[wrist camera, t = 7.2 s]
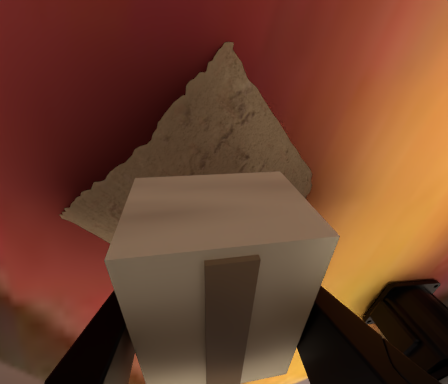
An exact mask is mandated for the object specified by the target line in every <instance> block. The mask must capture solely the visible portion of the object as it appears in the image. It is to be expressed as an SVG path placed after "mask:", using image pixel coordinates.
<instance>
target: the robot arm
mask: <svg viewBox="0 0 448 384" xmlns="http://www.w3.org/2000/svg"><path fill="white" fill-rule="evenodd" d="M439 286H440V283H439V282H438V281H437V280H429V281H415V282H402V283H392V284H389V285H388V286H387V287H386V288H385V290H384V291H383V292H382V294H381V295H380V296H379V298H378V299H377V300H376V302H375V303H374V304H373V306H372V307H371V308H370V310H369V311H368V312H367V314H366V315H365V316H364V318H363V319H360V318H359V317H358V316H357V315H355V314H354V313H353V312H352V311H351V310H349V309H348V308H347V307H346V306H345V305H343V304H342V303H341V302H340V301H339V300H337V299H336V298H335V297H334V296H333V295H331V294H330V293H329V292H328V291H327V290H325V289H324V288H323V287H322V286H320V288H319V291H318V294H317V296H316V299H315V301H314V304H313V306H312V309H311V312H310V314H309V317H308V319H307V322H306V324H305V327H304V329H303V332H302V335H301V337H300V340H299V342H298V345H297V349H298V352H299V354H300V357H301V360H302V362H303V365H304V368H305V371H306V373H307V376H308V379H309V381H310V384H448V308H447V307H446V306H445V305H444V304H443V303H442V302H441V301H440V300H439V299H438V298H437V297H435V296H434V295H433V293H434V291H435V290H436V289H437V288H438V287H439ZM373 323H375V324H376V325H377V327H378V328H379V329H380V331H381V332H382V333H383V335H384V336H385V337H386V339H387V340H388V341H389V342H388V341H387V340H386V339H385V338H382V336H381V335H380V334H378V333H377V332H376V331H375V330H374V329H372V328H371V327H370V326H369V325H368V324H373ZM134 354H135V350H134V347H133V344H132V341H131V338H130V335H129V332H128V329H127V326H126V323H125V320H124V317H123V314H122V311H121V308H120V305H119V302H118V299H117V296H116V294H115V291H113V292H112V293H111V295H110V296H109V297H108V299H107V300H106V301H105V303H104V304H103V305H102V307H101V308H100V309H99V311H98V312H97V313H96V315H95V316H94V317H93V319H92V320H91V321H90V322H89V324H88V325H87V326H86V328H85V329H84V330H83V332H82V333H81V334H80V336H79V337H78V338H77V340H76V341H75V342H74V344H73V345H72V346H71V347H70V349H69V350H68V351H67V353H66V354H65V355H64V357H63V358H62V359H61V361H60V362H59V363H58V365H57V366H56V367H55V369H54V370H53V371H52V373H51V374H50V375H49V376H48V378H47V379H46V380H45V382H44V384H128V382H129V377H130V373H131V368H132V363H133V359H134Z"/></svg>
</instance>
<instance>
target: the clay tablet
mask: <svg viewBox="0 0 448 384" xmlns="http://www.w3.org/2000/svg"><path fill="white" fill-rule="evenodd" d="M233 44H234V43H233V42H225V43H224V44H223V46H222V48H220V49H219V50H218V52H217V53H216V55H215V56H214V58H213V61H210V62H208V66H207V70H206V72H199V74H198V75H197V76H196V77H195V78H194V79H192V80H191V81H189V82H188V84H187V85H186V94H185V96H184V95H183V96H181V97H180V98H179V99H177V100H176V101H175V102H173V104H172V105H171V106H170V108H169V109H168V110H167V111H166V112H165V114H164V115H163V117H162V118H161V120H160V121H159V122H158V125H157V129H156V130H155V132H154V133H153V135H152V139H151V141H149V143H148V144H146V145H142V146H140V147H138V148H136V149H134V152H133V155H132V156H131V157H129V158H128V160H127V161H126V162H125V163H123V164H120V165H118V167H115V168H114V169H113V170H112V171H110V172H109V174H108V175H107V177H106V179H105V180H103V181H99V182H94V183H93V185H92V187H91V190H86V191H83V192H81V196H79V197H76V199H75V201H73V202H72V203H71V206H70V208H64V210H65V211H66V212H62V214H63V215H60V214H59V215H60V216H61V218H62V219H65V220H68V221H71V222H73V223H75V224H77V225H78V226H80V227H82V228H83V229H85V230H87V231H89V232H91V233H93V234H95V235H96V236H98V237H100V238H102V239H103V240H105V241H107V242H108V243H110V244H111V241H112V239H113V236H114V233H115V231H116V228H117V225H118V222H119V220H120V217H121V214H122V212H123V209H124V206H125V204H126V201H127V198H128V196H129V193H130V190H131V188H132V185H133V182H134V180H135V178H148V177H170V176H192V175H213V174H235V173H256V172H278V171H280V172H281V173H282V174H283V175H284V176H285V177H286V178H287V179H288V180H289V182H290V183H291V184H292V185H293V186H294V187H295V188H296V189H297V190H298V191H299V192H300V193H301V195H302V196H303V197H304V198H305V199H306V196H307V195H308V194H309V192H310V190H311V186H312V184H311V177H312V173H311V170H310V168H309V167H308V166H307V165H306V163H305V162H304V161H303V160H302V158H301V157H300V155H299V153H298V151H297V150H296V148H295V147H294V146H293V145H292V143H291V142H290V140H289V138H288V136H287V134H286V133H285V131H284V130H283V128H282V127H281V125H280V123H279V122H278V120H277V119H276V117H275V116H274V115H273V113H272V112H271V110H270V109H269V107H268V105H267V104H266V102H265V101H264V99H263V98H262V96H261V94H260V93H259V91H258V89H257V88H256V87H255V86H254V85H253V84H252V83H251V82H250V81H249V80H248V78H247V76H246V73H245V71H244V68H243V65H242V62H241V61H240V59H239V58H238V57H237V55H236V54H235V52H234V51H233Z"/></svg>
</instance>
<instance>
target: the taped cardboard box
mask: <svg viewBox="0 0 448 384" xmlns="http://www.w3.org/2000/svg"><path fill="white" fill-rule="evenodd" d="M339 237H340V236H339V235H338V234H337V232H336V231H335V230H334V229H333V228H332V227H331V226H330V225H329V224H328V223H327V222H326V221H325V219H324V218H323V217H322V216H321V215H320V214H319V213H318V212H317V211H316V210H315V209H314V208H313V206H312V205H311V204H310V203H309V202H308V201H307V200H306V199H305V198H304V197H303V196H302V195H301V193H300V192H299V191H298V190H297V189H296V188H295V187H294V186H293V185H292V184H291V183H290V182H289V180H288V179H287V178H286V177H285V176H284V175H283V174H282V173H281V172H280V171H278V172H256V173H235V174H213V175H192V176H170V177H148V178H135V180H134V182H133V185H132V188H131V190H130V193H129V196H128V198H127V201H126V204H125V206H124V209H123V212H122V214H121V217H120V220H119V222H118V225H117V228H116V231H115V233H114V236H113V239H112V241H111V244H110V247H109V249H108V252H107V255H106V257H105V260H104V261H105V264H106V267H107V270H108V273H109V276H110V279H111V282H112V285H113V288H114V291H115V294H116V296H117V299H118V302H119V305H120V308H121V311H122V314H123V317H124V320H125V323H126V326H127V329H128V332H129V335H130V338H131V341H132V344H133V347H134V350H135V353H136V356H137V358H138V361H139V364H140V367H141V370H142V373H143V376H144V379H145V382H146V384H240V383H245V382H250V381H255V380H259V379H264V378H269V377H274V376H278V375H283V374H286V373H287V371H288V368H289V365H290V363H291V360H292V358H293V355H294V353H295V350H296V347H297V345H298V342H299V340H300V337H301V335H302V332H303V329H304V327H305V324H306V322H307V319H308V317H309V314H310V312H311V309H312V306H313V304H314V301H315V299H316V296H317V294H318V291H319V288H320V286H321V283H322V281H323V278H324V276H325V273H326V270H327V268H328V265H329V263H330V260H331V258H332V255H333V253H334V250H335V247H336V245H337V242H338V240H339Z"/></svg>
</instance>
